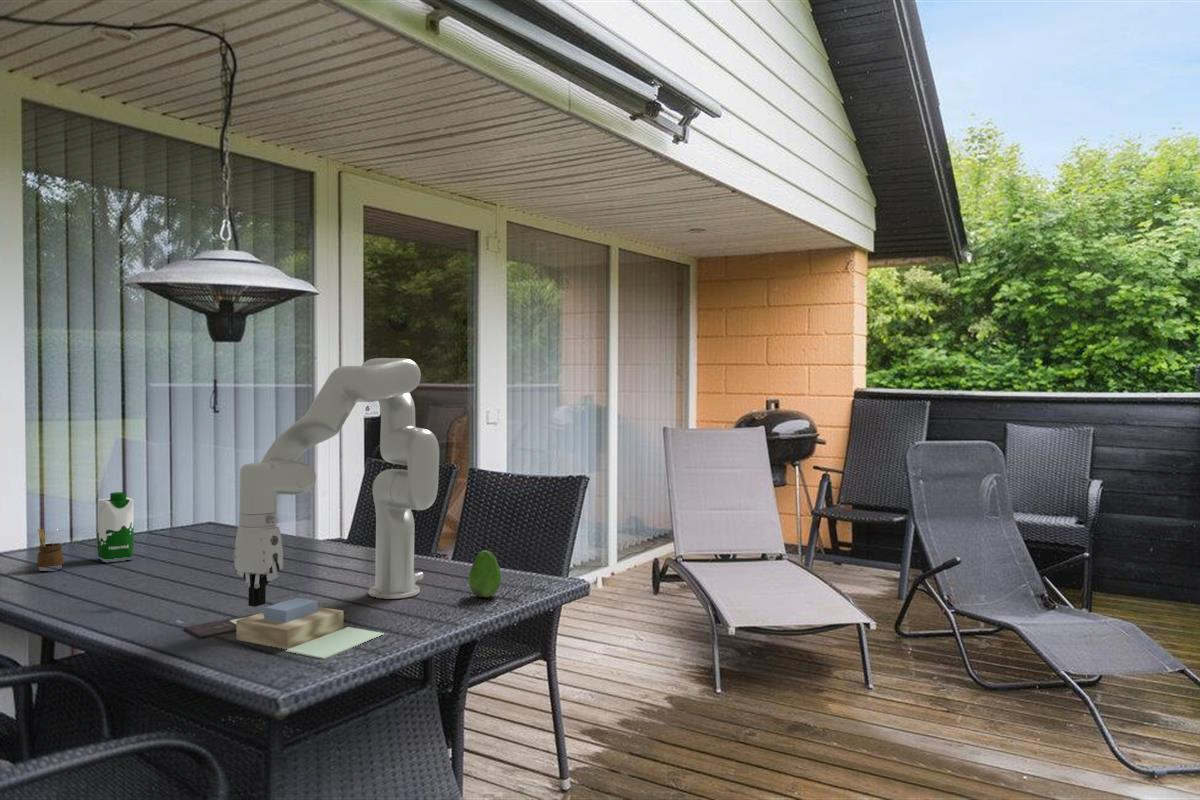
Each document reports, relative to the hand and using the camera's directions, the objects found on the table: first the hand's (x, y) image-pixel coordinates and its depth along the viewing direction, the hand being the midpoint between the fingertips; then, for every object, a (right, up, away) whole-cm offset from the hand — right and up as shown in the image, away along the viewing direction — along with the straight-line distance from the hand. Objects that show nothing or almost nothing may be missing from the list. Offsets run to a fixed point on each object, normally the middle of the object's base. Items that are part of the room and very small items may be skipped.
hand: (256, 604), depth 180 cm
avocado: (+45, -6, +30) cm, 55 cm away
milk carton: (-68, -3, +64) cm, 93 cm away
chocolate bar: (-5, -6, +1) cm, 8 cm away
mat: (+20, -6, -9) cm, 23 cm away
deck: (+9, -5, -4) cm, 11 cm away
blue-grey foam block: (+9, -1, -4) cm, 10 cm away
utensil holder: (-78, -3, +50) cm, 92 cm away
